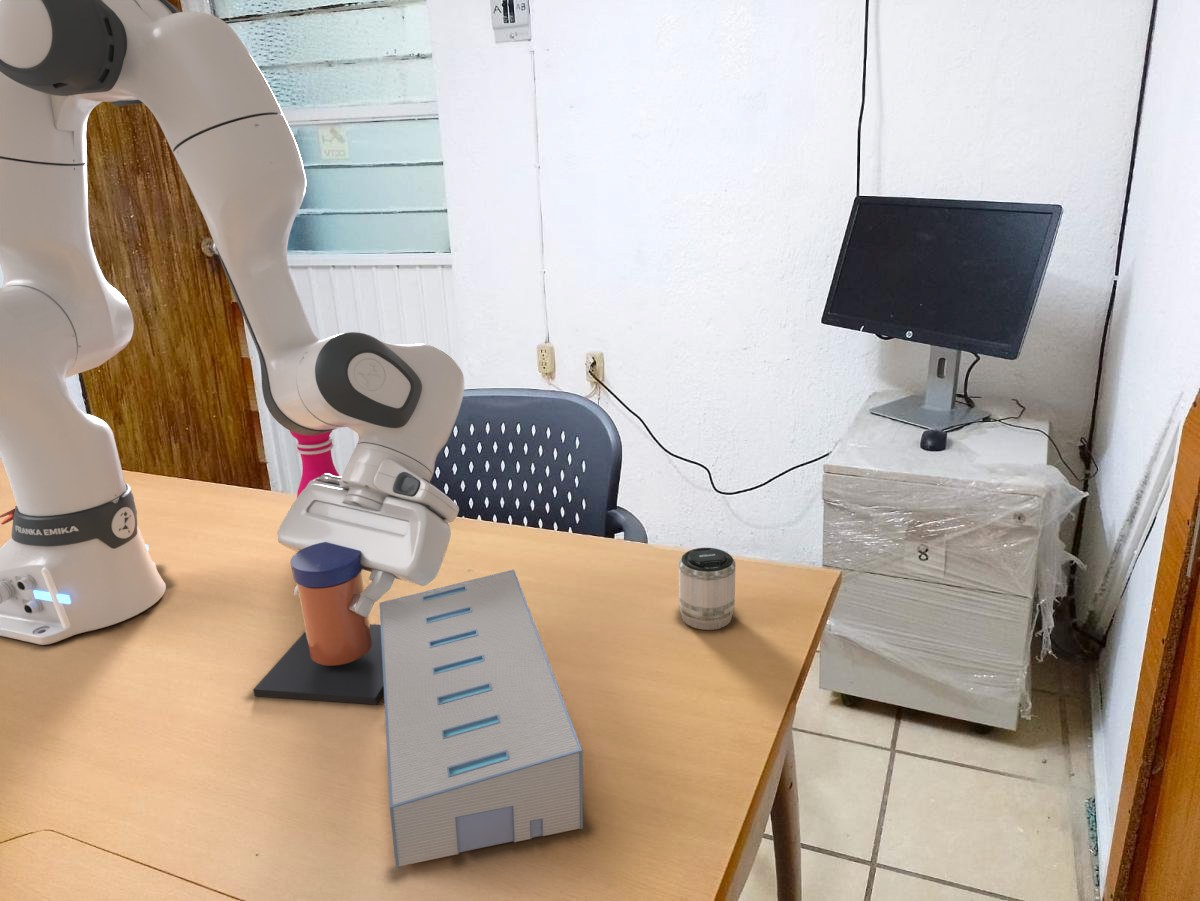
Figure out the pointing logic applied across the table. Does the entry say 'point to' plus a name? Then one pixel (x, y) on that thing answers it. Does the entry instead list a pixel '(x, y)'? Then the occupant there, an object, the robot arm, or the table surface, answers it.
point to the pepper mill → (314, 457)
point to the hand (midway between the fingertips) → (329, 605)
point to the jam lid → (325, 565)
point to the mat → (326, 676)
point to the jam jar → (334, 623)
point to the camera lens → (706, 588)
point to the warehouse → (474, 723)
